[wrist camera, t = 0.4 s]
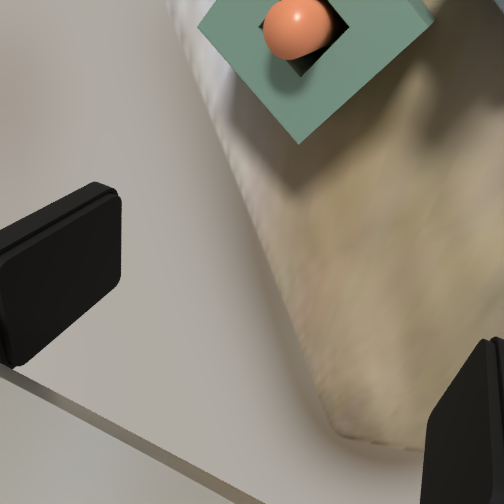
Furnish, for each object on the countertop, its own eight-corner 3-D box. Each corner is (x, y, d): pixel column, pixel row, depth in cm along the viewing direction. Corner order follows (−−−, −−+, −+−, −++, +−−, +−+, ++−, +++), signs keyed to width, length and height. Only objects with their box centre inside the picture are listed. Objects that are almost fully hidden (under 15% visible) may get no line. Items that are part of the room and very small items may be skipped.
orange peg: (325, -15, 29) (289, -15, 23) (354, 22, 29) (326, 30, 23) (293, 22, 31) (252, 30, 25) (321, 55, 31) (288, 71, 25)
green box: (341, -102, 29) (306, -128, 23) (435, 19, 30) (428, 27, 24) (242, 24, 35) (193, 32, 29) (324, 120, 36) (294, 148, 30)
